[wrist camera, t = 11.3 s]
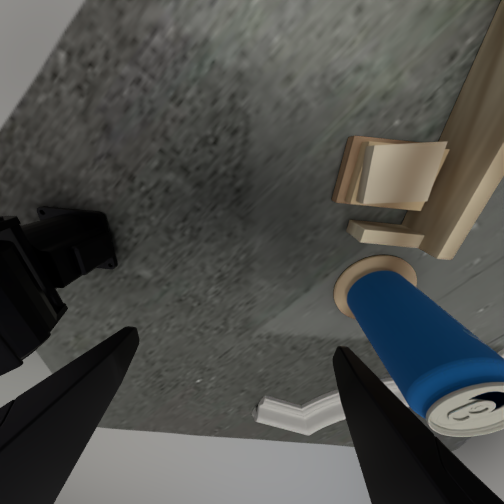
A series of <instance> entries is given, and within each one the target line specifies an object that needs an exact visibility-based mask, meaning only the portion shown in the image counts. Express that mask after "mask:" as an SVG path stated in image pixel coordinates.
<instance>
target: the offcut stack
mask: <svg viewBox="0 0 504 504" xmlns="http://www.w3.org/2000/svg"><path fill="white" fill-rule="evenodd" d="M447 142H448V141H446V142H427V143H420V142H410V141H401V140H391V139H382V138H372V137H362V136H351V137H348V140H347V144H346V148H345V151H344V155H343V159H342V163H341V166H340V170H339V174H338V178H337V182H336V185H335V189H334V193H333V197H332V201H334V202H336V203H345V204H355V205H365V206H375V207H385V208H395V209H405V210H416V211H421V209H422V207H423V205H424V203H425V201H428V198H429V195H430V192H431V189H432V186H433V184H434V182H435V179H436V177H437V175H438V173H439V171H440V169H441V167H442V165H443V163H444V160H445V158H446V156H447V154H448V152H449V150H450V149H445V148H446V145H447Z"/></svg>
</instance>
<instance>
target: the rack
mask: <svg viewBox="0 0 504 504" xmlns="http://www.w3.org/2000/svg"><path fill="white" fill-rule="evenodd" d="M446 141H448V142H447V145H446V148H445V149H450V150H449V152H448V154H447V156H446V158H445V160H444V163H443V165H442V167H441V169H440V171H439V173H438V175H437V177H436V179H435V182H434V184H433V186H432V189H431V192H430V195H429V198H428V201H425V203H424V205H423V207H422V209H421V211H416V210H408V211H407V213H406V215H405V218H404V220H403V222H402V224H401V225H399V224H389V223H379V222H369V221H359V220H350V221H349V224H348V227H347V230H346V231H347V232H348V233H349V234H350V235H352V236H353V237H354V238H355V239H357V240H358V241H359V242H361V243H371V244H382V245H392V246H402V247H412V248H419V249H421V250H423V251H424V252H426V253H428V254H430V255H431V256H433V257H435V258H437V259H447V260H452V259H453V257H454V255H455V254H456V252H457V251H458V249H459V247H460V246H461V244H462V242H463V241H464V239H465V238H466V236H467V234H468V233H469V231H470V229H471V228H472V226H473V225H474V223H475V221H476V220H477V218H478V216H479V215H480V213H481V211H482V210H483V208H484V207H485V205H486V203H487V202H488V200H489V198H490V197H491V195H492V194H493V192H494V190H495V189H496V187H497V185H498V184H499V182H500V181H501V179H502V177H503V176H504V0H501V2H500V4H499V7H498V9H497V11H496V13H495V16H494V18H493V20H492V22H491V25H490V27H489V29H488V31H487V34H486V36H485V38H484V40H483V43H482V45H481V47H480V49H479V51H478V54H477V56H476V58H475V60H474V63H473V65H472V67H471V69H470V72H469V74H468V76H467V78H466V81H465V83H464V85H463V87H462V90H461V92H460V94H459V96H458V99H457V101H456V103H455V105H454V108H453V110H452V112H451V114H450V117H449V119H448V121H447V123H446V126H445V128H444V130H443V132H442V135H441V137H440V139H439V141H438V142H446Z"/></svg>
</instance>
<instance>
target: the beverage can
mask: <svg viewBox="0 0 504 504" xmlns="http://www.w3.org/2000/svg"><path fill="white" fill-rule="evenodd" d="M347 304H348V307H349V308H350V310H351V311H352V313H353V315H354V316H355V318H356V320H357V321H358V323H359V325H360V326H361V328H362V330H363V331H364V333H365V334H366V336H367V338H368V339H369V341H370V343H371V344H372V346H373V348H374V349H375V351H376V352H377V354H378V356H379V357H380V359H381V361H382V362H383V364H384V366H385V367H386V369H387V371H388V372H389V374H390V375H391V377H392V379H393V380H394V382H395V384H396V385H397V387H398V389H399V390H400V392H401V393H402V395H403V397H404V398H405V400H406V402H407V403H408V405H409V406H410V407H411V408H412V409H413V410H414V411H415V412H416V413H417V414H419V415H420V416H422V417H423V418H425V419H426V421H427V423H428V425H429V426H430V428H431V429H432V430H434V431H435V432H437V433H440V434H443V435H447V436H454V437H469V436H478V435H484V434H489V433H493V432H496V431H499V430H502V429H504V358H502V357H501V356H500V355H499V354H497V353H496V352H495V351H494V350H493V349H491V348H490V347H489V346H488V345H486V344H485V343H484V342H483V341H482V340H480V339H479V338H478V337H477V336H475V335H474V334H473V333H472V332H470V331H469V330H468V329H467V328H466V327H464V326H463V325H462V324H461V323H459V322H458V321H457V320H456V319H454V318H453V317H452V316H451V315H450V314H448V313H447V312H446V311H445V310H443V309H442V308H441V307H440V306H439V305H437V304H436V303H435V302H434V301H432V300H431V299H430V298H429V297H427V296H426V295H425V294H424V293H423V292H421V291H420V290H419V289H418V288H416V287H415V286H414V285H413V284H412V283H410V282H409V281H408V280H407V279H405V278H404V277H403V276H402V275H400V274H398V273H396V272H393V271H389V270H380V271H375V272H371V273H368V274H366V275H364V276H362V277H361V278H359V279H358V280H357V281H356V282H355V283H354V284H353V285H352V286H351V288H350V289H349V291H348V294H347Z"/></svg>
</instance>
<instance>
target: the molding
mask: <svg viewBox="0 0 504 504" xmlns="http://www.w3.org/2000/svg"><path fill="white" fill-rule="evenodd" d="M497 354H499V355H500V356H501V357H502V358H504V349H502V350H501V351H499V352H498V353H497ZM380 380H381V381H382V382H383V383H384V384H385V385H386V386H387V387H388V388H389V389H390V390H391V391H392V392H393V393H394V394H395V395H396V396H397V397H398V398H399V399H400V400H401V401H402V402H403V403H404V404H405V405H406V406H407V407H410V406H409V405H408V403H407V402H406V400H405V398H404V397H403V395H402V393H401V392H400V390H399V389H398V387H397V385H396V384H395V382H394V380H393V379H392V377H391V378H384V379H380ZM252 416H254V419H255V421H256V422H259V423H263V424H267V425H271V426H275V427H278V428H282V429H286V430H290V431H294V432H297V433H301V434H305V435H311V434H312V433H314V432H316V431H317V430H319V429H321V428H323V427H326V426H328V425H330V424H333V423H335V422H338V421H341V420H343V419H346V417H345V414H344V411H343V408H342V404H341V400H340V396H339V391H338V389H337V390H334V391H332V392H329V393H326V394H324V395H321V396H319V397H317V398H315V399H312V400H310V401H308V402H307V403H305V404H303V405H298V404H294V403H291V402H287V401H284V400H280V399H277V398H273V397H270V396H266V395H265V396H264V397H263V398H262V399H261V401H260V402H259V404H258V407H255V408H254V409H253V410H252Z"/></svg>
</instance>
